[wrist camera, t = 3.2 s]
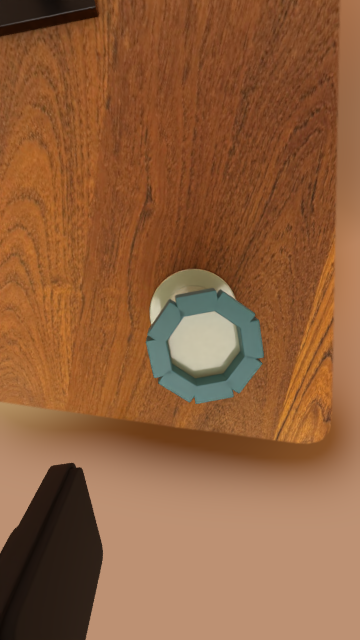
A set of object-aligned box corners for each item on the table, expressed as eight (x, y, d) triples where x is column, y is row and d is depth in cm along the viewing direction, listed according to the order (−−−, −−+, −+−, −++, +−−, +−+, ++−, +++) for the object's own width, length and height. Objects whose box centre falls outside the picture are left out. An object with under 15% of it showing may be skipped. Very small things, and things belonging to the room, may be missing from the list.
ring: (249, 280, 19) (254, 282, 18) (263, 382, 21) (268, 390, 20) (139, 301, 20) (137, 305, 18) (161, 401, 21) (161, 410, 20)
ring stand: (228, 260, 29) (257, 268, 19) (241, 343, 31) (273, 389, 21) (141, 277, 29) (127, 293, 19) (159, 359, 31) (154, 411, 21)
